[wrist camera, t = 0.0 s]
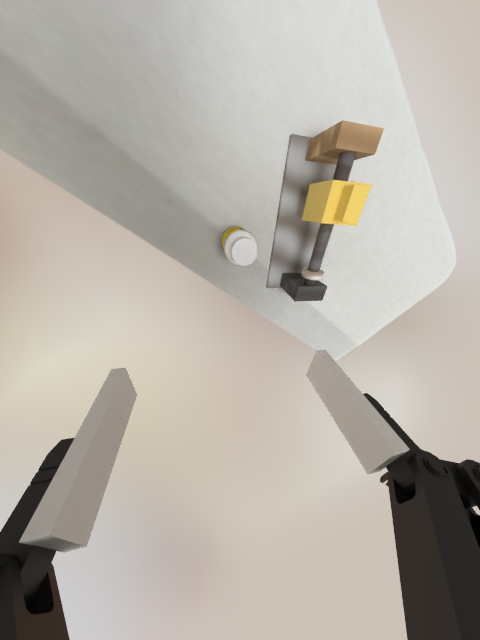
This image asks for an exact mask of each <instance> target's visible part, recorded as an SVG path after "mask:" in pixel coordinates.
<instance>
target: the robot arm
mask: <svg viewBox="0 0 480 640" xmlns="http://www.w3.org/2000/svg"><path fill="white" fill-rule="evenodd" d="M307 377H308V378H309V380H310V381H311V383H312V385H313V386H314V387H315V390H316V391H317V393H318V394H319V396H320V398H321V399H322V401H323V403H324V404H325V406H326V407H327V409H328V411H329V412H330V414H331V415H332V417H333V418H334V420H335V422H336V424H337V425H338V427H339V428H340V430H341V432H342V433H343V435H344V436H345V438H346V440H347V441H348V443H349V445H350V446H351V448H352V449H353V451H354V453H355V454H356V456H357V457H358V459H359V461H360V462H361V464H362V466H363V467H364V469H365V471H366V472H367V474H371V473H375V472H379V471H381V470H382V469H383V468H385V467H386V468H387V470H388V472H387V473H385V474H384V475H383V476H382V477H381V479H380V482H382V483H383V482H385V481H386V480H388V482H387V484H386V485H387V486H389V493H390V501H391V509H392V518H393V526H394V534H395V542H396V550H397V557H398V565H399V574H400V582H401V590H402V598H403V606H404V613H405V622H406V630H407V638H408V640H480V515H478V514H476V512H475V511H474V510H473V508H472V507H474V506H478V508H479V510H480V463H478V462H475V461H473V460H465V461H463V462H461V463H455V462H450V461H444V460H440V459H438V458H437V457H436V456H434V455H433V454H431V453H429V452H426V451H423V450H421V449H420V448H419V447H418V446H417V445H416V444H415V443H414V442H413V441H412V440H411V439H410V437H409V436H408V435H407V434H406V433H405V432H404V431H403V430H402V429H401V428H400V426H399V425H398V424H397V423H396V422H395V421H394V420H393V419H392V418H391V417H390V415H389V414H388V413H387V412H386V411H385V410H384V408H383V407H382V406H381V405H380V404H379V403H378V402H377V401H376V400H375V399H374V398H373V397H371V396H370V395H369V394H367V393H366V394H362V393H361V391H360V390H359V389H358V388H357V387H356V386H355V384H354V383H353V382H352V381H351V380H350V378H349V377H348V376H347V375H346V374H345V373H344V371H343V370H342V369H341V368H340V367H339V366H338V365H337V363H336V362H335V361H334V360H333V358H332V357H331V356H330V355H329V354H328V353H327V351H326V350H319V351H316V353H315V355H314V358H313V360H312V363H311V365H310V368H309V370H308V372H307ZM136 396H137V394H136V391H135V389H134V387H133V384H132V382H131V380H130V377H129V375H128V372H127V370H126V368H118V369H111V371H110V373H109V375H108V377H107V379H106V381H105V382H104V384H103V386H102V388H101V390H100V392H99V394H98V396H97V398H96V399H95V401H94V403H93V405H92V407H91V408H90V410H89V412H88V414H87V416H86V418H85V420H84V422H83V423H82V425H81V427H80V429H79V431H78V433H77V435H76V437H75V438H71V439H65V440H61V441H60V442H59V443H58V444H57V445H56V446H55V447H54V448H53V449H52V450H51V451H50V453H48V455H47V456H46V458H45V460H44V461H43V463H42V465H41V466H40V468H39V471H38V472H37V473H36V475H35V476H34V478H33V479H32V481H31V485H30V486H29V487H28V488H27V489H26V491H25V493H24V494H23V496H22V498H21V499H20V501H19V502H18V504H17V506H16V507H15V509H14V511H13V512H12V514H11V516H10V517H9V519H8V521H7V522H6V524H5V525H4V527H3V529H2V531H1V532H0V640H69V636H68V631H67V626H66V622H65V617H64V613H63V608H62V604H61V599H60V595H59V590H58V586H57V581H56V576H55V572H54V567H53V565H52V563H51V562H52V560H53V557H54V555H55V553H56V551H59V552H67V551H71V550H75V549H79V548H83V547H86V546H87V544H88V540H89V538H90V535H91V532H92V529H93V526H94V522H95V520H96V517H97V514H98V511H99V508H100V505H101V501H102V499H103V495H104V493H105V490H106V487H107V483H108V480H109V477H110V474H111V471H112V468H113V465H114V462H115V459H116V456H117V453H118V450H119V447H120V444H121V441H122V438H123V435H124V432H125V429H126V426H127V423H128V420H129V417H130V414H131V411H132V408H133V405H134V402H135V399H136Z"/></svg>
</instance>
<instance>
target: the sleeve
mask: <svg viewBox="0 0 480 640" xmlns="http://www.w3.org/2000/svg"><path fill="white" fill-rule="evenodd" d="M371 185H372V184H365V183H357V182H348V181H340V180H329V181H323V182H318V183H312V184H310V186H309V190H308V195H307V199H306V204H305V208H304V212H303V217H302V220H304V221H310V222H316V223H324V224H340V225H355V226H356V225H357V222H358V220H359V217H360V214H361V212H362V209H363V207H364V204H365V201H366V199H367V196H368V193H369V191H370V188H371Z"/></svg>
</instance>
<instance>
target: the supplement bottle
mask: <svg viewBox="0 0 480 640" xmlns="http://www.w3.org/2000/svg"><path fill="white" fill-rule="evenodd" d="M221 244H222V248H223V250H224V252H225V254H226V256H227V258H228V259H229V261H230V262H232V263H233V264H236V265H241V266H247V265H249V264H251V263H252V262H253V261H254V260H255V259H256V257H257V243H256V240H255V238H254V237H253V235H252V234H250V233H249V232H248V231H246V230H244V229H242V228H240V227H236V226H234V227H230V228H228V229H227V230H226V231H225V232H224V233H223V235H222V239H221Z"/></svg>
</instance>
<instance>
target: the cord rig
mask: <svg viewBox="0 0 480 640" xmlns="http://www.w3.org/2000/svg"><path fill="white" fill-rule="evenodd" d="M383 130H384V128H379V127H373V126H368V125H363V124H358V123H353V122H348V121H341V122H339V123H337V124H336V125H334V126H332V127H331V128H329V129H327V130H325V131H324V132H322V133H320V134H319V135H317V136H315V137H313V138H311V137H305V136H299V135H293V134H292V135H290V140H289V147H288V153H287V159H286V166H285V172H284V178H283V185H282V191H281V197H280V204H279V210H278V216H277V223H276V229H275V235H274V242H273V248H272V255H271V261H270V267H269V274H268V280H267V286H266V287H267V288H283V289H284V290H285V292H286V293H287V294H288V295H289V296H290V297H291V298H292V299H293V300H294V301H319V300H322V299H323V297H324V294H325V291H326V288H327V286H326V285H324V284H323V283H321V282H320V281H318V280H321V279H322V276H323V273H324V272H323V271H322V270H320V267H321V263H322V260H323V257H324V254H325V251H326V248H327V245H328V241H329V238H330V235H331V232H332V229H333V226H334V224H324V223H316V222H310V221H304V220H302V217H303V212H304V208H305V204H306V199H307V195H308V190H309V186H310V184H312V183H318V182H323V181H329V180H340V181H348V178H349V175H350V172H351V169H352V166H353V162H354V160H356V159H360V158H363V157H367V156H370V155H374V154H375V152H376V149H377V146H378V144H379V141H380V138H381V135H382V133H383Z"/></svg>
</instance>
